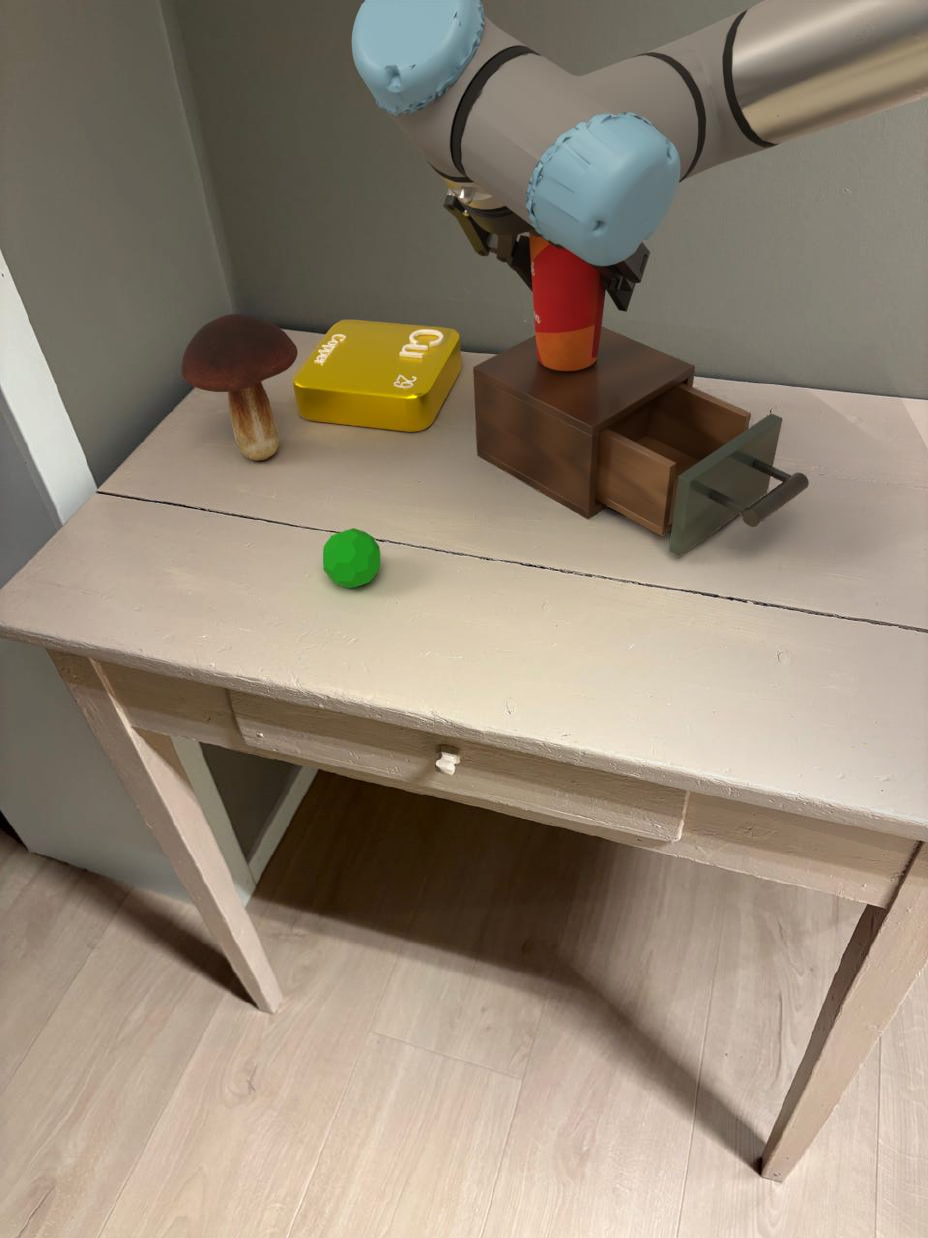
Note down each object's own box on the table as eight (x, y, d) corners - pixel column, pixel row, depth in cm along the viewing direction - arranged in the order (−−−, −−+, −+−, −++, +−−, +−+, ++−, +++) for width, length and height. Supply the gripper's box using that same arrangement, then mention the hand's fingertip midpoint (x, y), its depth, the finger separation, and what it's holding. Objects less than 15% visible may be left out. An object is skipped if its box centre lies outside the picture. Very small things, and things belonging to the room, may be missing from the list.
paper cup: (563, 327, 92) (566, 176, 83) (626, 353, 88) (637, 197, 78) (507, 358, 89) (503, 204, 79) (570, 387, 84) (575, 227, 75)
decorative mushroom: (222, 499, 92) (182, 358, 82) (196, 443, 99) (156, 306, 89) (330, 468, 95) (304, 327, 85) (297, 415, 102) (270, 279, 92)
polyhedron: (386, 594, 81) (380, 551, 78) (328, 602, 81) (319, 559, 77) (380, 556, 85) (374, 514, 81) (325, 564, 84) (316, 521, 81)
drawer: (815, 516, 84) (835, 440, 79) (728, 585, 78) (743, 508, 73) (650, 435, 95) (657, 363, 89) (562, 491, 89) (564, 417, 83)
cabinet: (683, 456, 93) (695, 365, 87) (587, 519, 87) (592, 427, 80) (572, 401, 102) (574, 314, 95) (476, 455, 95) (472, 366, 88)
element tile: (342, 351, 112) (336, 312, 109) (466, 362, 108) (464, 323, 105) (292, 420, 102) (284, 379, 98) (427, 435, 98) (423, 394, 95)
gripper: (357, 193, 70) (471, 307, 91) (621, 236, 62) (679, 350, 83) (388, 92, 69) (495, 230, 91) (658, 122, 62) (707, 266, 83)
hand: (583, 287), depth 87 cm, fingers closed on paper cup, 8 cm apart
